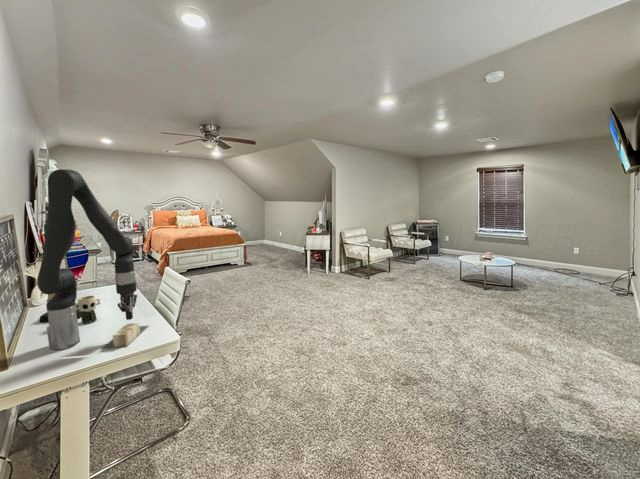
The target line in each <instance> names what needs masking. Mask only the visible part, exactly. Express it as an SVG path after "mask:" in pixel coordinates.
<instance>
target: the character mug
mask: <svg viewBox="0 0 640 479" xmlns="http://www.w3.org/2000/svg"><path fill="white" fill-rule="evenodd" d="M75 305H79V307H78V308H76V310H78V309H79V310H80V311H83V312H82V317H81V323H82V324H90V323H91V322H92V323H93V322H95V321H96V322H97V315H96V311H95V309H96V308H97V306H99V305H101V298H96V296H95V295H86V296H82V297H78V298H77V302H75Z"/></svg>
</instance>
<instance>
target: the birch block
mask: <svg viewBox="0 0 640 479" xmlns="http://www.w3.org/2000/svg"><path fill="white" fill-rule="evenodd" d="M139 326H140V322H136V323H127V324H125V325H124V326H122V327H121V328H120V329H118V330H117V332H115V333H114V334H112V339H113V342H114V347H117V346H127V345H128V344H129V343H130V342H131V341H132V340H134V339H135V338H136V337H137V336H138V335H139V334H140V328H139ZM140 335H141V334H140ZM140 335H139V336H140ZM139 336H138V337H139ZM138 337H137V338H138ZM137 338H136V339H137ZM136 339H135V340H136ZM135 340H134V341H135ZM129 345H130V344H129ZM129 345H128V346H129ZM128 346H127V347H128Z"/></svg>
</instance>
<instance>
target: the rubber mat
mask: <svg viewBox="0 0 640 479" xmlns="http://www.w3.org/2000/svg"><path fill="white" fill-rule="evenodd" d="M139 328H140V334H139V335H138V336H137V337H136V338H135V339H134V340H132V341H131V342H130V343H129V344H128V345H127V346H117V347H114V342H113V338H112V339H111V340H110V341H108V342H107V343H106V344H105V345H104V346H102V347H101V348H100V350H110V349H111V350H112V349H123V348H124V349H125V348H128V346H130V345H131V344H132V343H133V342H134V341H135V340H136V339H137V338H138V337H140V335H141V334H142V333H143V332H144V331H146V330H147V329H148V328H149V325H139Z"/></svg>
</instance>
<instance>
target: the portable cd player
mask: <svg viewBox="0 0 640 479" xmlns="http://www.w3.org/2000/svg"><path fill="white" fill-rule="evenodd" d="M78 307H79V305H76V308H78ZM82 312H83V311H80V310H79V309H78V310H76V313H77V320H79V319H82ZM38 322H39V324H43V323H44V324H46V323H49V321H48V314H47V311H46V312H45V313H43V314H41V315H40V316H39V321H38Z"/></svg>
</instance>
